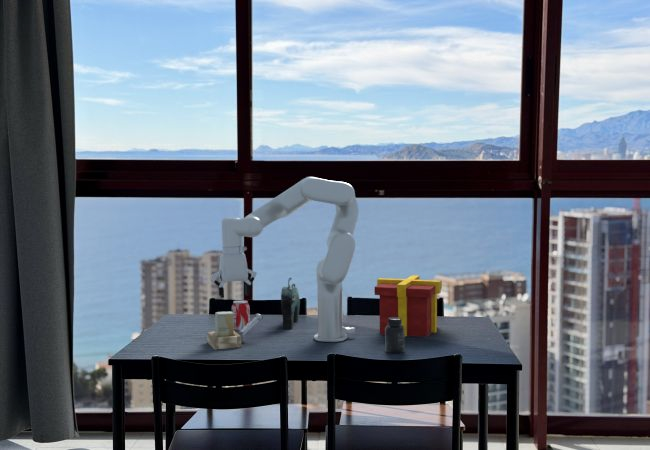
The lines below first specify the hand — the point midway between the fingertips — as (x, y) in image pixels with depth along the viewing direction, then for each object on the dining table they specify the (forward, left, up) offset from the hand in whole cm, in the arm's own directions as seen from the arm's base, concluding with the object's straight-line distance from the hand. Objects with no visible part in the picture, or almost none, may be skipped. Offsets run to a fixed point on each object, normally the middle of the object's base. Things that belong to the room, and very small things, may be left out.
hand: (234, 296), depth 320 cm
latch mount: (-2, -2, -18) cm, 18 cm away
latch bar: (-7, -2, -13) cm, 15 cm away
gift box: (-69, +5, -18) cm, 72 cm away
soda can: (-7, -20, -18) cm, 28 cm away
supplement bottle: (-49, +35, -18) cm, 63 cm away
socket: (+5, +1, -18) cm, 18 cm away
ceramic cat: (-29, -24, -18) cm, 42 cm away
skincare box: (+4, +1, -18) cm, 19 cm away
